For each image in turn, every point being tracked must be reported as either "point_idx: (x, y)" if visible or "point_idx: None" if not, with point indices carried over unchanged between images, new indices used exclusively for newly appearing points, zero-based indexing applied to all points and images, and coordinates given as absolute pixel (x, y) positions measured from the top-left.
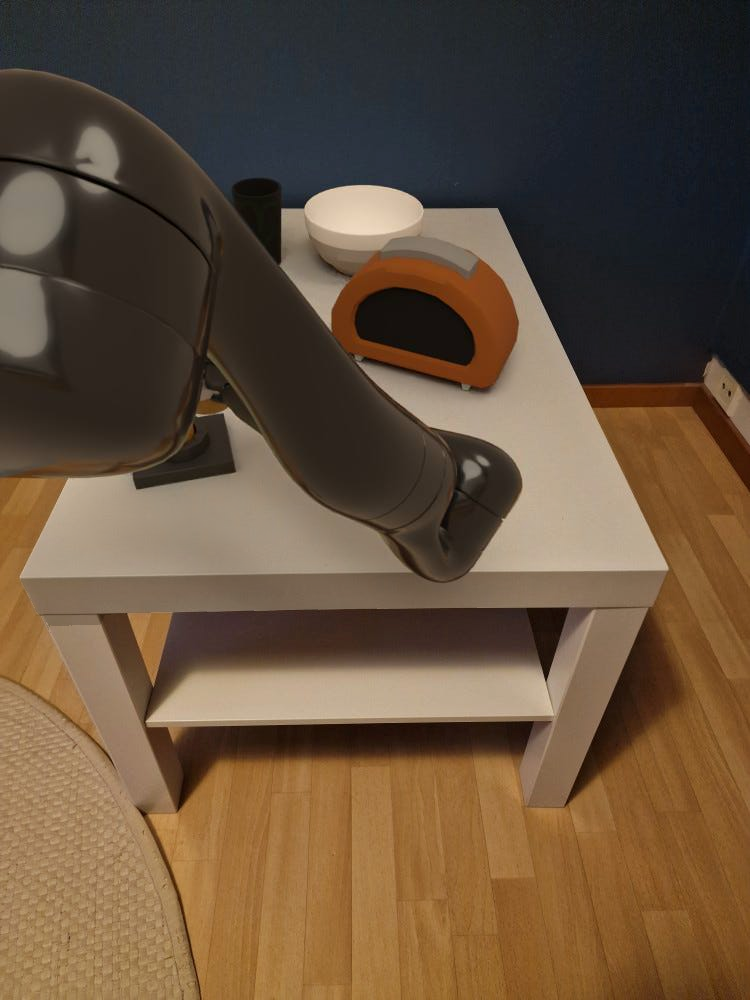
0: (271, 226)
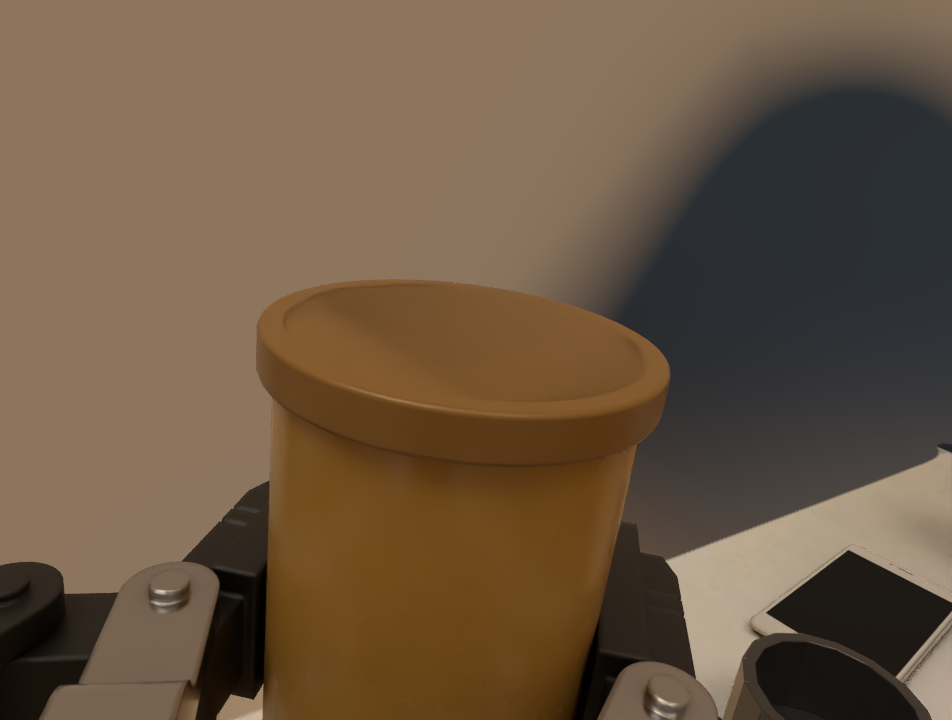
0: None
